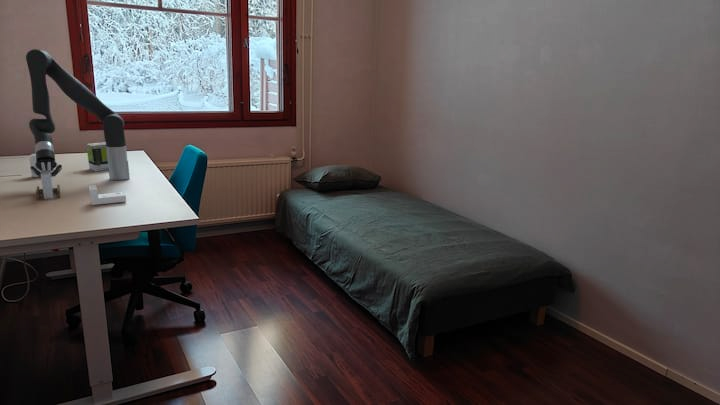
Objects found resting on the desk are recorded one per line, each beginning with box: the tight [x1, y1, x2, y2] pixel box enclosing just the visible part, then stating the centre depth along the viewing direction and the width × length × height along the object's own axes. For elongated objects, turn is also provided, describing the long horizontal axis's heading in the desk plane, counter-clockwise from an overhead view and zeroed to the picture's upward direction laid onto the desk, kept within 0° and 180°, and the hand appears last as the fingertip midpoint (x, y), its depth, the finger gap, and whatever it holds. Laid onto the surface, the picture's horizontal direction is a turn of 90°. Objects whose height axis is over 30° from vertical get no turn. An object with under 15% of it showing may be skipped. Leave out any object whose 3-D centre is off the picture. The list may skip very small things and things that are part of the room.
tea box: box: [85, 141, 109, 172], centre depth 276 cm, size 15×10×15 cm, turn 135°
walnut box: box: [35, 184, 61, 201], centre depth 216 cm, size 9×14×4 cm, turn 31°
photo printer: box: [29, 153, 55, 178], centre depth 253 cm, size 10×4×12 cm, turn 123°
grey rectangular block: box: [40, 170, 54, 200], centre depth 214 cm, size 4×10×11 cm, turn 31°
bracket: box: [88, 185, 127, 206], centre depth 207 cm, size 13×7×8 cm, turn 123°
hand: (48, 183), depth 223 cm, fingers closed
